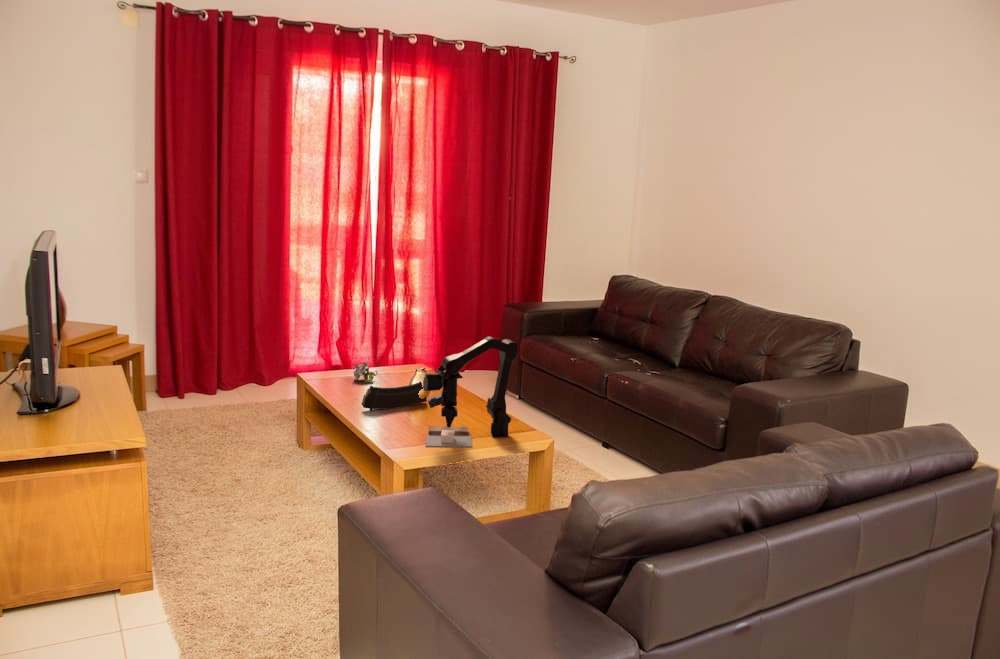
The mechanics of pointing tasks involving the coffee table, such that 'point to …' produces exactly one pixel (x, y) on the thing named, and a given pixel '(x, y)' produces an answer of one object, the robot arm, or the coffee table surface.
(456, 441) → the mat
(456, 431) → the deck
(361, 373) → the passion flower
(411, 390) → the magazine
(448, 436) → the peach square block
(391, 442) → the coffee table surface
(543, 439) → the coffee table surface
